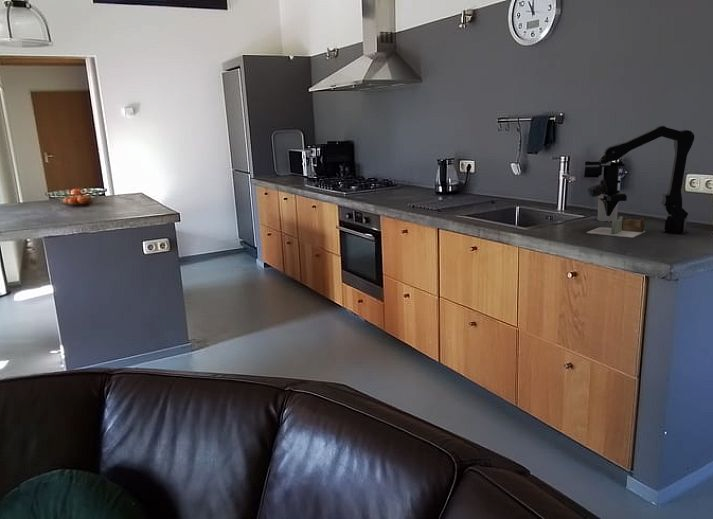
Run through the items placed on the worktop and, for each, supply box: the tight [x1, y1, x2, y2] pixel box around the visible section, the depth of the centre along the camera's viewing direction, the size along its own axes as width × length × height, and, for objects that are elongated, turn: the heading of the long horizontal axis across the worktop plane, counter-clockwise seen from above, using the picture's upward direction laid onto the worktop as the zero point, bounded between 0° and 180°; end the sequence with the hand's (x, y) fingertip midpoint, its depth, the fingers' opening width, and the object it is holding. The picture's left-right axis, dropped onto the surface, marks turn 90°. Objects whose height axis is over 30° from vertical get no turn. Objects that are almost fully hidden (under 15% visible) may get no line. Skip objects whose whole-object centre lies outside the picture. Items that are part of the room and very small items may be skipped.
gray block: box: [597, 196, 619, 223], centre depth 248 cm, size 8×8×12 cm
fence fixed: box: [622, 216, 645, 232], centre depth 221 cm, size 9×1×6 cm, turn 45°
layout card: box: [585, 226, 646, 239], centre depth 222 cm, size 18×14×1 cm
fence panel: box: [610, 215, 624, 234], centre depth 220 cm, size 9×1×6 cm, turn 137°
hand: (608, 215), depth 224 cm, fingers closed
